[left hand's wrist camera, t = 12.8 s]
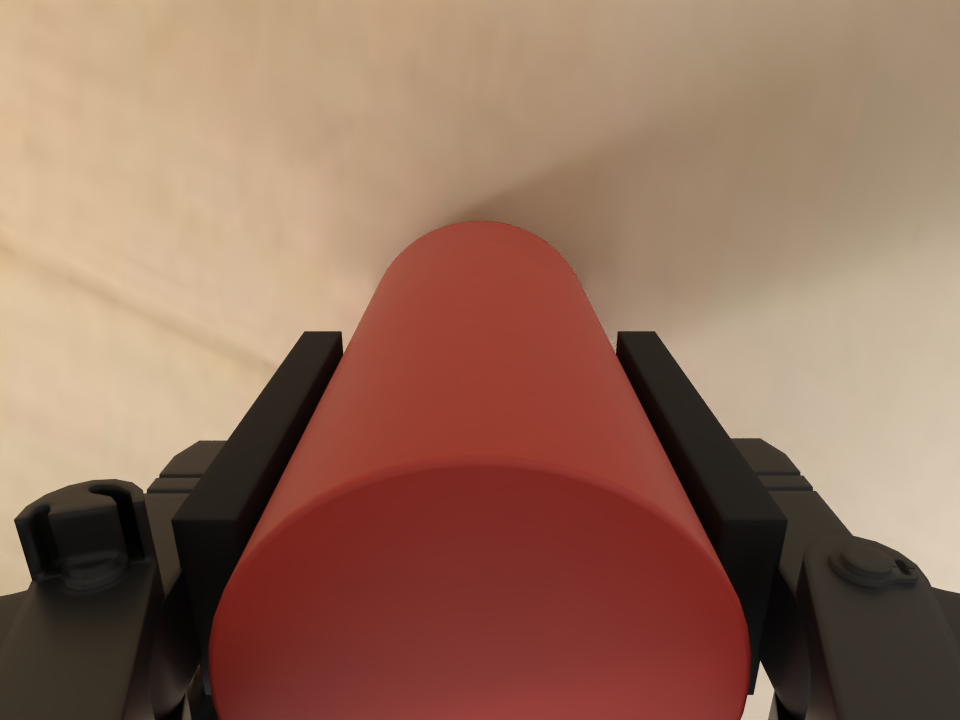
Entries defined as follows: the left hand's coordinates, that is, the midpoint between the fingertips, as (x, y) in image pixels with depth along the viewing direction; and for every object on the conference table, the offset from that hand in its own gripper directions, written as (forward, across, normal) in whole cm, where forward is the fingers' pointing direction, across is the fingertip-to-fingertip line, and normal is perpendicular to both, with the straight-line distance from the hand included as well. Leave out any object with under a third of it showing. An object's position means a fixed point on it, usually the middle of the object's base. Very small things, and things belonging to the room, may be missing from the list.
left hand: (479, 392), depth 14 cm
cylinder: (+4, 0, 0) cm, 4 cm away
